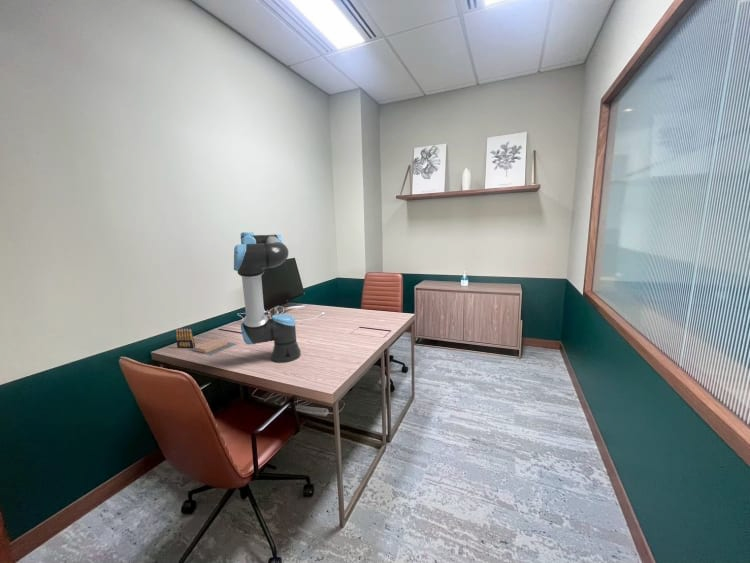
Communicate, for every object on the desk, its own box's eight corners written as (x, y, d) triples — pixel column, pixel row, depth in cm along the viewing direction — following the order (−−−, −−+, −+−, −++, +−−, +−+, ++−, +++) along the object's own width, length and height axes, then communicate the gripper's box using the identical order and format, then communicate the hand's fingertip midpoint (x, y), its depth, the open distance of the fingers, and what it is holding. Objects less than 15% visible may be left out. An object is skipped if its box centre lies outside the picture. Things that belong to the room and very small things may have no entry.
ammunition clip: (177, 348, 177) (174, 329, 175) (179, 347, 179) (176, 328, 177) (193, 348, 175) (190, 329, 174) (195, 347, 177) (192, 328, 175)
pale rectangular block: (226, 341, 179) (205, 349, 167) (227, 344, 180) (205, 353, 167) (216, 339, 184) (194, 347, 171) (216, 342, 184) (194, 350, 172)
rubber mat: (237, 344, 180) (237, 344, 180) (210, 355, 165) (210, 355, 164) (216, 340, 189) (216, 339, 189) (188, 350, 173) (188, 349, 173)
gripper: (262, 257, 179) (265, 295, 183) (247, 257, 185) (250, 294, 188) (252, 258, 172) (256, 297, 176) (236, 258, 178) (241, 296, 182)
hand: (253, 295), depth 182 cm, fingers closed
